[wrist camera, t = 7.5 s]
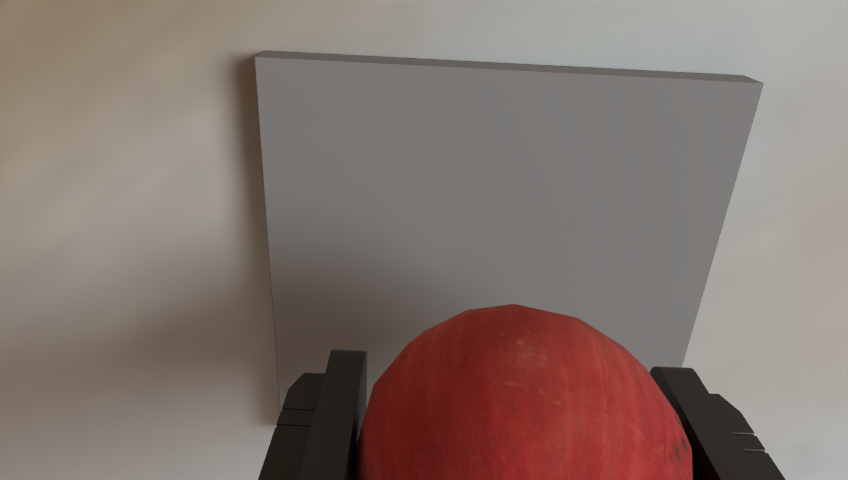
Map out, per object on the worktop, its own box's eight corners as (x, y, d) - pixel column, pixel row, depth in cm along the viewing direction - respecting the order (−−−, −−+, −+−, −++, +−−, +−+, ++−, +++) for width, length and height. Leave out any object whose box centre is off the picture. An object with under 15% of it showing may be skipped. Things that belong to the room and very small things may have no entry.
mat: (744, 75, 15) (763, 83, 14) (644, 437, 20) (654, 460, 19) (265, 50, 15) (254, 56, 14) (289, 420, 20) (282, 442, 19)
